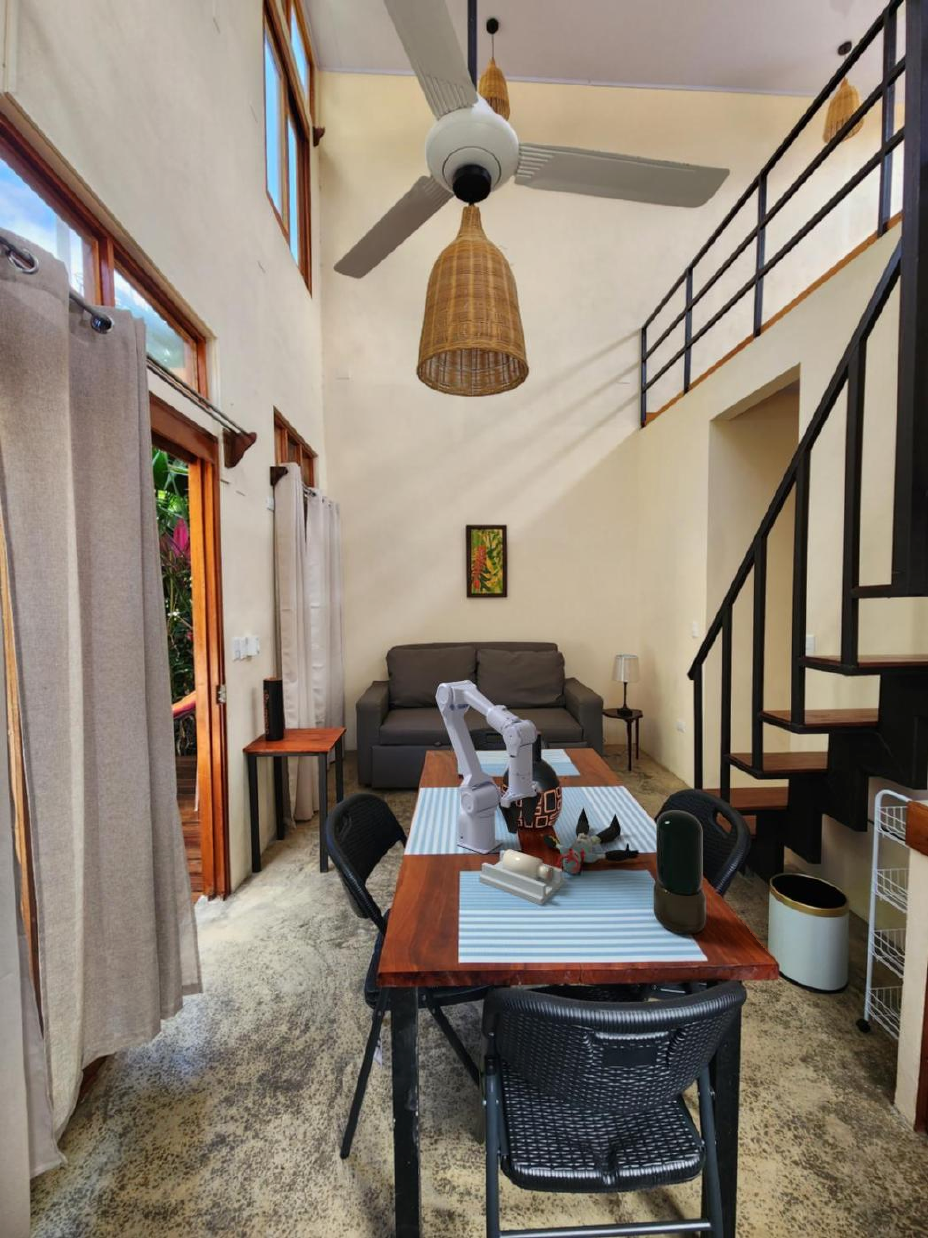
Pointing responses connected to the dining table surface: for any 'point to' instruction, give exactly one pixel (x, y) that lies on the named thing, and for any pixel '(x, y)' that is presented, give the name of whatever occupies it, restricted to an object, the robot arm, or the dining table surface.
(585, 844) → the toy
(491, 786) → the robot arm
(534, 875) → the bottle
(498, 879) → the cradle
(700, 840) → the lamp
